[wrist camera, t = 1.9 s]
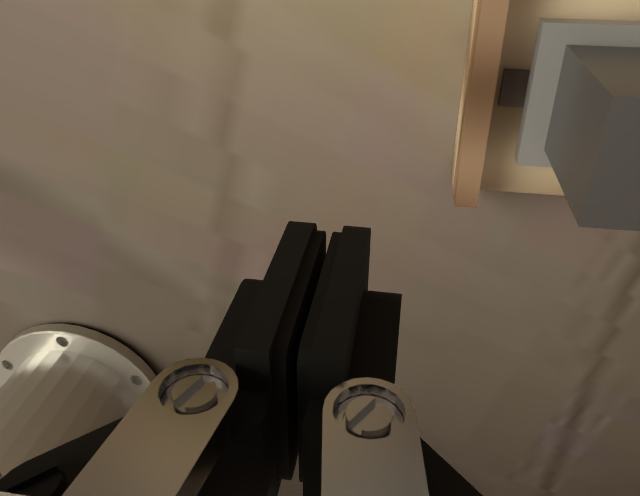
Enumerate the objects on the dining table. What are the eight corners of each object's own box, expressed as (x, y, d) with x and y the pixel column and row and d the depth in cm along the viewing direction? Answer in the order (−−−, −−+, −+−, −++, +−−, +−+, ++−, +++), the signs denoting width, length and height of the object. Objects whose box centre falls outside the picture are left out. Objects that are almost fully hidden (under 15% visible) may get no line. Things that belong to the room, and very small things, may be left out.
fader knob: (629, 163, 27) (698, 257, 20) (514, 156, 27) (543, 244, 20) (671, 21, 23) (770, 75, 17) (539, 17, 24) (583, 67, 17)
